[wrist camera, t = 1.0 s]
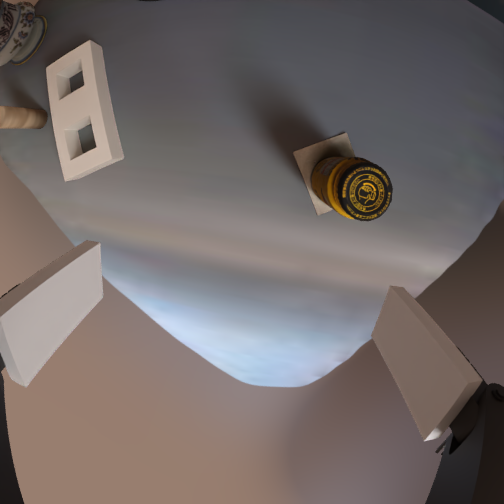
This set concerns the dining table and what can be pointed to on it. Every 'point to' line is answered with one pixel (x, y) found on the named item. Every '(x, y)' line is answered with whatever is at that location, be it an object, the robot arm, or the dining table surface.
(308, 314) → the dining table surface
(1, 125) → the dowel
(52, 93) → the hole block
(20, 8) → the apothecary jar
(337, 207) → the condiment
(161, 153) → the dining table surface
